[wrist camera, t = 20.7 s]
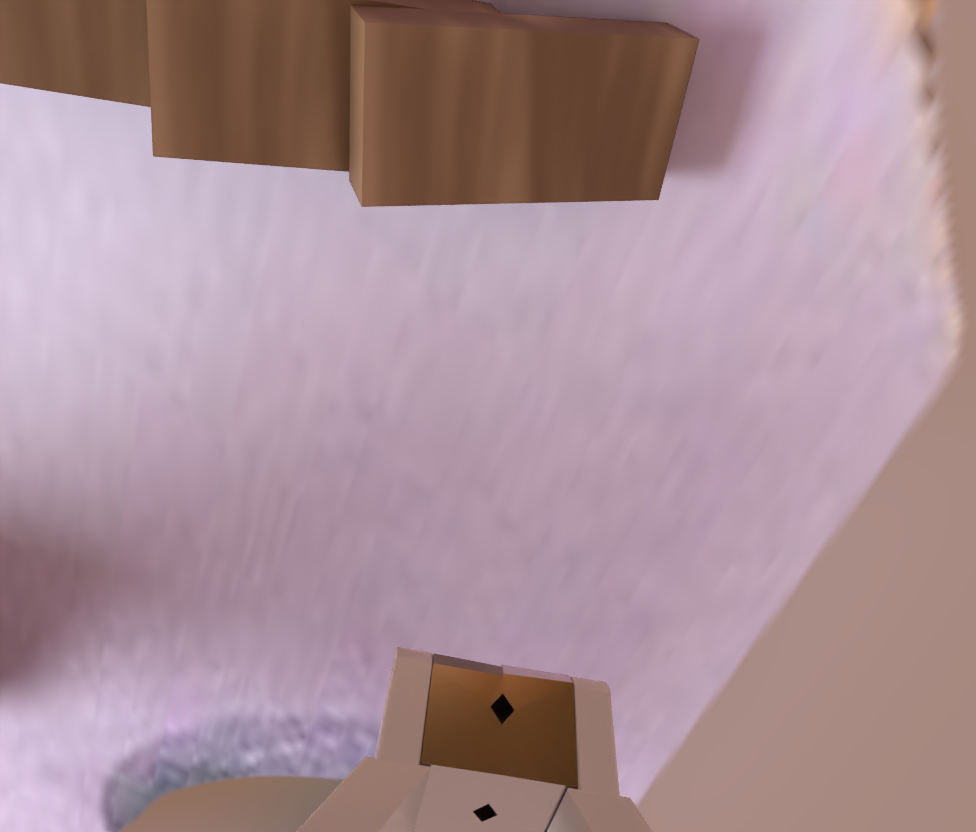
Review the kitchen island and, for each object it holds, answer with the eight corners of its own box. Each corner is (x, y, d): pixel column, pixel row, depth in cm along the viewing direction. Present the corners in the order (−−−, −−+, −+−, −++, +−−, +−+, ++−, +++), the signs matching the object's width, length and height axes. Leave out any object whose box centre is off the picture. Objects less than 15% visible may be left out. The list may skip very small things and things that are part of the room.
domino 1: (353, -32, 23) (-52, -128, 19) (329, 135, 26) (-25, 78, 22) (344, -48, 25) (-34, -140, 21) (323, 112, 28) (-12, 56, 24)
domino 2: (511, 22, 24) (144, -37, 20) (476, 181, 27) (153, 156, 23) (490, 3, 25) (144, -55, 21) (459, 156, 28) (152, 129, 24)
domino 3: (699, 38, 24) (364, 22, 20) (658, 200, 27) (361, 206, 23) (667, 22, 25) (350, 4, 22) (632, 176, 28) (349, 180, 25)
